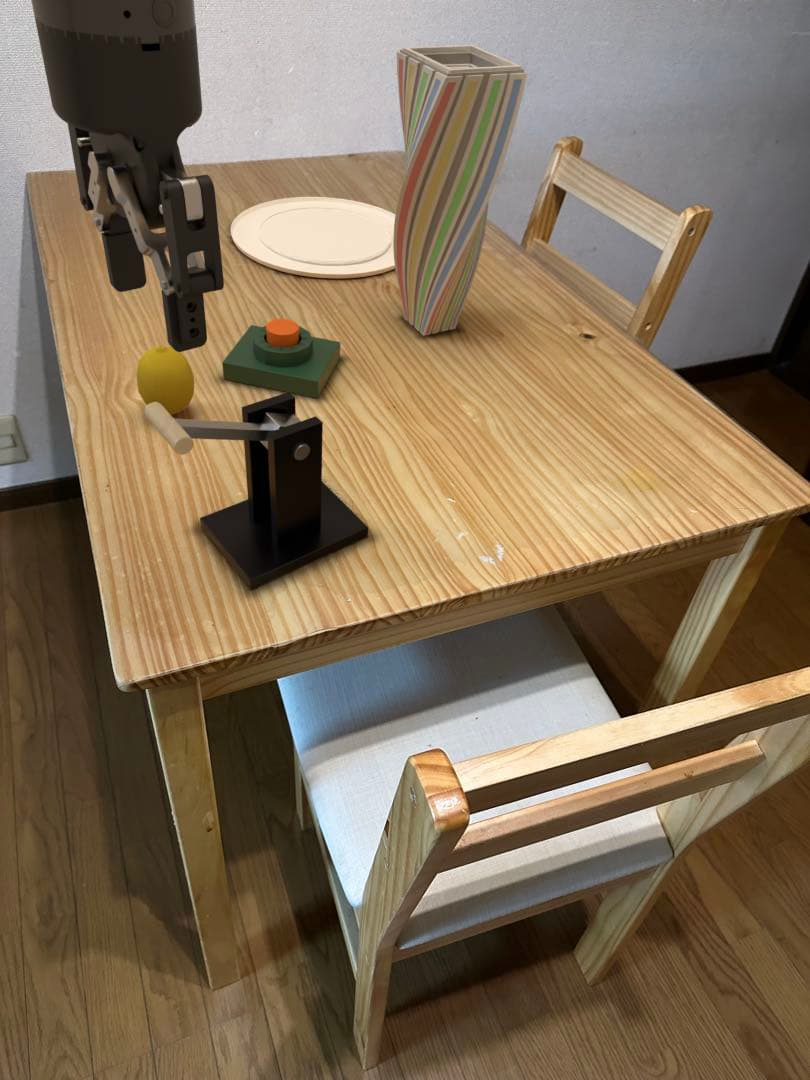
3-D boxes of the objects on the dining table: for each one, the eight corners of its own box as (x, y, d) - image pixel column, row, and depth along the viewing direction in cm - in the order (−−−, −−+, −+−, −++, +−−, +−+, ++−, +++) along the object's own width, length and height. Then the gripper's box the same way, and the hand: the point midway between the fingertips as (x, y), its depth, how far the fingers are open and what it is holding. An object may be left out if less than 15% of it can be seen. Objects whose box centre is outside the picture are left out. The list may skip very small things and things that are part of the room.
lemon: (191, 431, 78) (183, 363, 73) (136, 427, 78) (123, 358, 72) (202, 401, 82) (195, 334, 77) (150, 397, 82) (139, 329, 76)
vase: (444, 291, 106) (477, 39, 85) (501, 337, 98) (553, 71, 77) (358, 309, 100) (372, 42, 80) (412, 359, 92) (443, 78, 72)
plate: (262, 288, 102) (262, 283, 101) (210, 207, 119) (209, 203, 119) (449, 267, 111) (449, 263, 111) (375, 196, 129) (375, 191, 129)
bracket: (250, 590, 64) (242, 470, 55) (200, 527, 68) (184, 408, 60) (368, 537, 69) (377, 420, 61) (314, 482, 74) (315, 367, 65)
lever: (170, 461, 53) (179, 430, 52) (140, 424, 55) (147, 394, 54) (307, 462, 62) (317, 436, 60) (275, 430, 64) (284, 405, 63)
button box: (223, 379, 86) (220, 347, 83) (252, 341, 92) (250, 310, 89) (317, 398, 85) (318, 366, 82) (340, 358, 91) (341, 327, 88)
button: (262, 345, 85) (261, 331, 84) (273, 330, 87) (272, 316, 86) (293, 351, 84) (293, 337, 83) (303, 336, 87) (303, 322, 86)
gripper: (-12, -19, 39) (56, 282, 50) (97, 51, 32) (150, 386, 43) (129, -19, 43) (164, 260, 54) (257, 42, 35) (267, 353, 47)
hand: (157, 316), depth 48 cm, fingers open, 8 cm apart
